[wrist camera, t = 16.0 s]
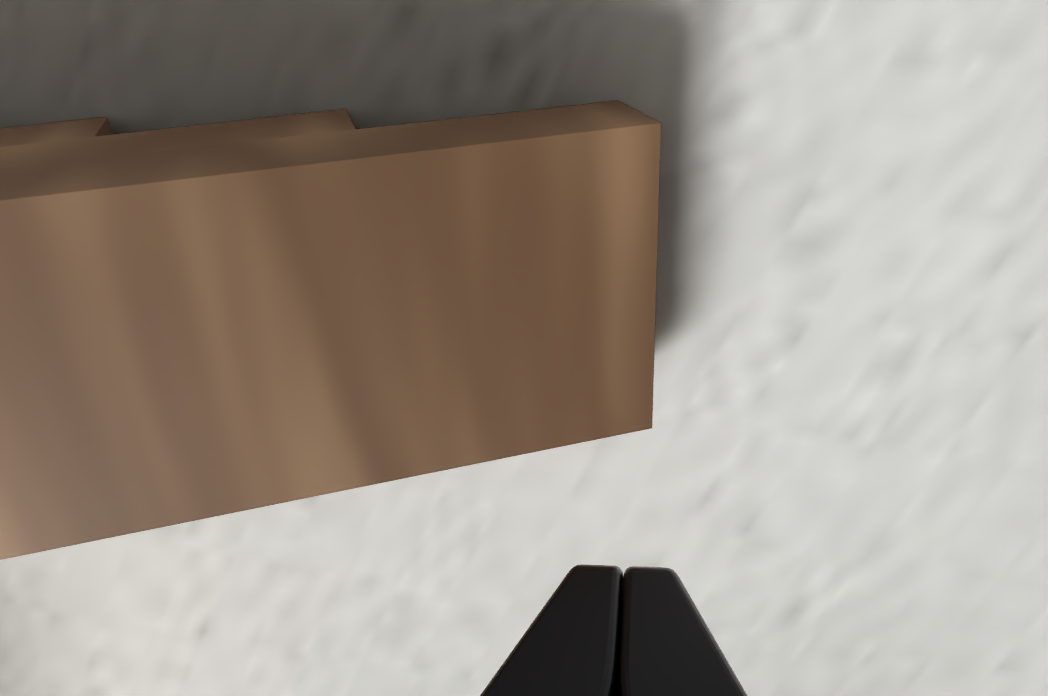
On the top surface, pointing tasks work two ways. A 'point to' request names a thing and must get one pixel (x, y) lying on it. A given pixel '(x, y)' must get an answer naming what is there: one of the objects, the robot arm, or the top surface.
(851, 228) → the top surface
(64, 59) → the top surface
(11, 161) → the tile
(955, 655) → the top surface
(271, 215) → the tile
